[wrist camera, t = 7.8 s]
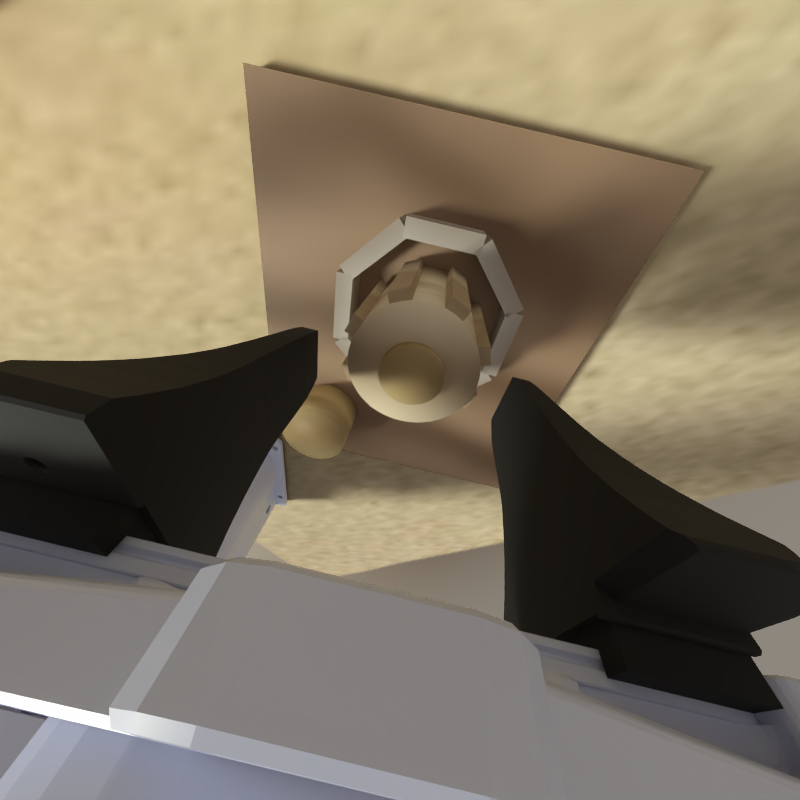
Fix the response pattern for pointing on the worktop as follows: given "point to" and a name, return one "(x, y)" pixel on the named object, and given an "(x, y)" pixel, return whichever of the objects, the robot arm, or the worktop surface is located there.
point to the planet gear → (418, 345)
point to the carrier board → (441, 247)
